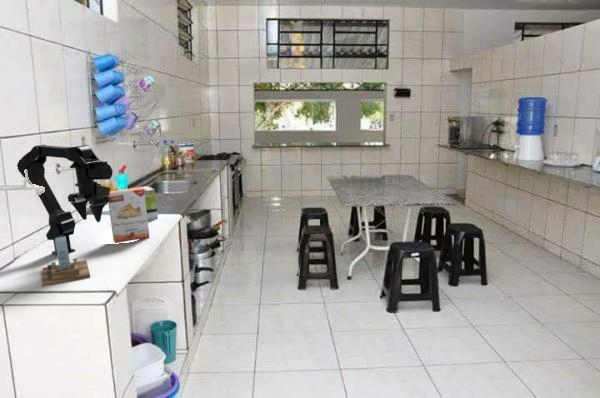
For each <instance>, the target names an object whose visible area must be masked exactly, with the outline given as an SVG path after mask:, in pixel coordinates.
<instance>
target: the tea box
mask: <svg viewBox="0 0 600 398" xmlns="http://www.w3.org/2000/svg"><path fill="white" fill-rule="evenodd" d="M135 188H142V189H144V194H145V202H146V211H147V220H148V221H150V220H155V219H158V218H159V215H158V214H159V213H158V206H157V205H158V204H157V195H156V194H157V193H156V189H155V188H153V187H151V186H148V185H147V186H146V185H145V186H137V187H130V188H129V189H135Z"/></svg>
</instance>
